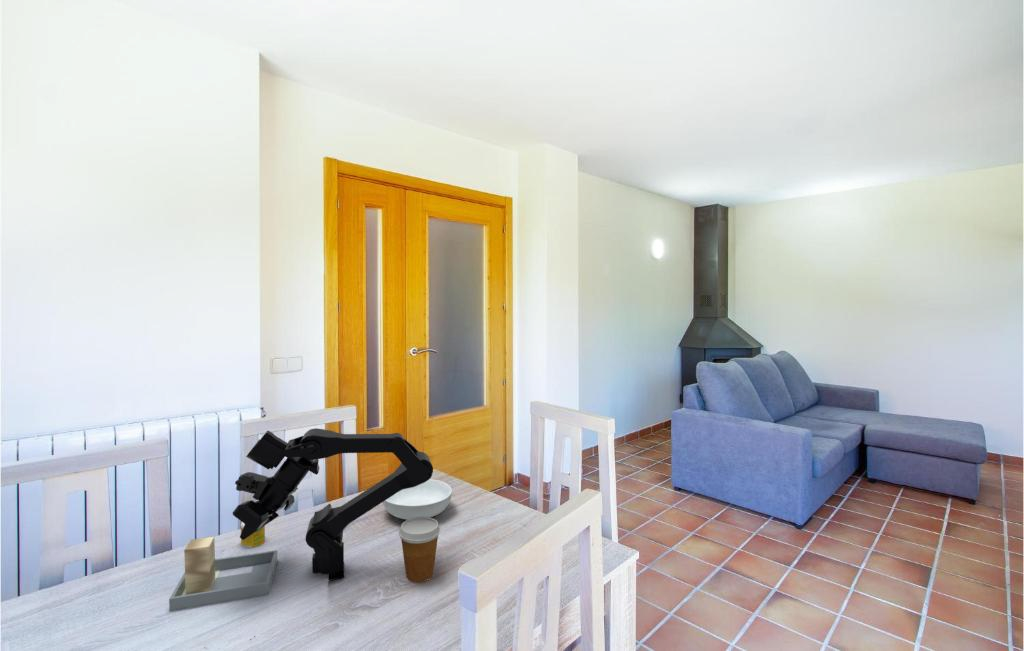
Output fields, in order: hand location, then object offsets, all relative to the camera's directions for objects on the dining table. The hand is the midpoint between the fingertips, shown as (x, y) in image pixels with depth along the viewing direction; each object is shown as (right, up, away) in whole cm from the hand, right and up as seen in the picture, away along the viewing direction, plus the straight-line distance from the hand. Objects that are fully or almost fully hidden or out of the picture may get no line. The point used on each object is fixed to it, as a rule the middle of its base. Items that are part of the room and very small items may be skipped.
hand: (242, 538), depth 108 cm
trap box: (-3, -11, -1) cm, 11 cm away
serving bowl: (+32, -9, +38) cm, 51 cm away
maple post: (-7, -10, -3) cm, 12 cm away
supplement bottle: (-6, -10, +17) cm, 21 cm away
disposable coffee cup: (+39, -11, +6) cm, 41 cm away
